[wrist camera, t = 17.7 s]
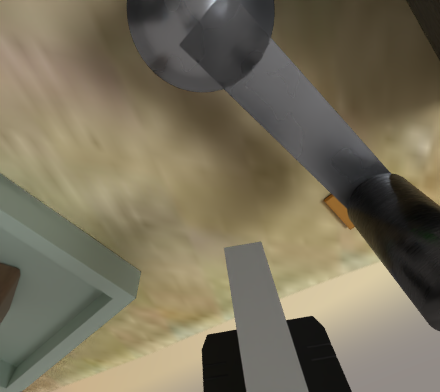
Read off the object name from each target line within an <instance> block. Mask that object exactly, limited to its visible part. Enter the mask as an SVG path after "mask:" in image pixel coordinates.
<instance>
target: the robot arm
mask: <svg viewBox="0 0 440 392" xmlns="http://www.w3.org/2000/svg"><path fill="white" fill-rule="evenodd" d="M224 251H225V257H226V264H227V270H228V277H229V283H230V290H231V296H232V302H233V309H234V315H235V322H236V328H237V330H232V331H226V332H221V333H214V334H209V335H207V337H206V340H205V342H204V345H203V348H202V364H203V381H204V382H203V386H204V392H352V391H351V389H350V387H349V384H348V382H347V380H346V377H345V375H344V373H343V370H342V368H341V366H340V363H339V361H338V359H337V357H336V354H335V352H334V349H333V347H332V346H331V342H330V340H329V338H328V335H327V333H326V331H325V328H324V327H323V326H322V325H321V324H320V323H319V322H318V321H317V320H316V319H315V318H314V317H313V316H309V317H303V318H297V319H292V320H286V319H285V316H284V313H283V309H282V306H281V303H280V300H279V297H278V293H277V290H276V287H275V284H274V281H273V278H272V274H271V271H270V268H269V265H268V262H267V259H266V256H265V252H264V249H263V246H262V243H261V242H256V243H250V244H244V245H238V246H232V247H226V248H224Z"/></svg>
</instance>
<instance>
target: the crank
mask: <svg viewBox="0 0 440 392" xmlns="http://www.w3.org/2000/svg"><path fill="white" fill-rule="evenodd" d="M127 18H128V24H129V29H130V33H131V36H132V39H133V42H134V44H135V46H136V48H137V50H138V52H139V54H140V55H141V57H142V59H143V60H144V61H145V63H146V64H147V65H148V66H149V68H150V69H151V70H152V71H153V72H154V73H155V74H157V75H158V76H159V77H160V78H162V79H163V80H164V81H166V82H168V83H169V84H171V85H173V86H176V87H178V88H180V89H184V90H187V91H193V92H213V91H217V90H222V89H224V90H225V91H226V92H228V93H229V94H230V95H231V96H232V97H233V98H234V99H235V100H236V101H237V102H238V103H239V104H240V105H241V106H242V107H243V108H244V109H245V110H246V111H247V112H248V113H249V114H250V115H251V116H252V117H253V118H254V119H255V120H256V121H257V122H258V123H259V124H260V125H261V126H262V127H263V128H265V129H266V130H267V131H268V132H269V133H270V134H271V135H272V136H273V137H274V138H275V139H276V140H277V141H278V142H279V143H280V144H281V145H282V146H283V147H284V148H285V149H286V150H287V151H288V152H289V153H290V154H291V155H292V156H293V157H294V158H295V159H296V160H297V161H298V162H299V163H300V164H301V165H303V166H304V167H305V168H306V169H307V170H308V171H309V172H310V173H311V174H312V175H313V176H314V177H315V178H316V179H317V180H318V181H319V182H320V183H321V184H322V185H323V186H324V187H325V188H326V189H327V190H328V191H329V192H330V193H331V194H332V195H333V196H334V197H335V198H336V199H337V200H338V201H339V202H341V203H342V204H343V205H344V206H345V207H346V208H347V213H348V217H349V219H350V221H351V222H352V223H353V225H354V226H355V227H356V229H357V230H358V231H359V233H360V234H361V235H362V237H363V238H364V239H365V241H366V242H367V243H368V244H369V246H370V247H371V248H372V250H373V251H374V252H375V254H376V255H377V256H378V258H379V259H380V260H381V262H382V263H383V264H384V266H385V267H386V268H387V269H388V271H389V272H390V273H391V275H392V276H393V277H394V279H395V280H396V281H397V283H398V284H399V285H400V287H401V288H402V289H403V291H404V292H405V293H406V295H407V296H408V297H409V299H410V300H411V301H412V302H413V304H414V305H415V306H416V308H417V309H418V310H419V312H420V313H421V314H422V316H423V317H424V318H425V320H426V321H427V322H428V323H429V325H430V326H431V327H433V328H434V329H436V330H438V331H440V206H439V205H438V204H436V203H435V202H434V201H433V200H431V199H430V198H429V197H427V196H426V195H425V194H424V193H422V192H421V191H420V190H419V189H417V188H416V187H415V186H413V185H412V184H411V183H410V182H408V181H407V180H406V179H404V178H403V177H401V176H399V175H396V174H391V173H390V172H389V171H388V170H387V169H386V167H385V166H384V165H383V164H382V163H381V162H380V161H379V160H378V158H377V157H376V156H375V155H374V154H373V153H372V152H371V150H370V149H369V148H368V147H367V146H366V145H365V144H364V143H363V141H362V140H361V139H360V138H359V137H358V136H357V135H356V134H355V132H354V131H353V130H352V129H351V128H350V127H349V126H348V124H347V123H346V122H345V121H344V120H343V119H342V118H341V117H340V115H339V114H338V113H337V112H336V111H335V110H334V109H333V108H332V106H331V105H330V104H329V103H328V102H327V101H326V100H325V98H324V97H323V96H322V95H321V94H320V93H319V92H318V91H317V89H316V88H315V87H314V86H313V85H312V84H311V83H310V82H309V80H308V79H307V78H306V77H305V76H304V75H303V74H302V72H301V71H300V70H299V69H298V68H297V67H296V66H295V65H294V63H293V62H292V61H291V60H290V59H289V58H288V57H287V56H286V54H285V53H284V52H283V51H282V50H281V49H280V48H279V46H278V45H277V44H276V43H275V42H274V41H273V40H272V39H271V34H272V30H273V25H274V0H127Z"/></svg>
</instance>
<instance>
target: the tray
mask: <svg viewBox="0 0 440 392" xmlns="http://www.w3.org/2000/svg"><path fill="white" fill-rule="evenodd" d="M0 263H3V264H6V265H10V266H13V267H16V268H18V269H20V279H19V282H18V285H17V288H16V291H15V294H14V297H13V300H12V303H11V306H10V309H9V311H8V313H7V314H6V316H5V318H4V319H3V321H2V322H1V324H0V392H22V391H23V390H24V389H25V388H27V387H28V386H29V385H30V384H32V383H33V382H34V381H35V380H36V379H38V378H39V377H40V376H41V375H43V374H44V373H45V372H46V371H47V370H49V369H50V368H51V367H52V366H54V365H55V364H56V363H57V362H58V361H60V360H61V359H62V358H63V357H65V356H66V355H67V354H68V353H69V352H71V351H72V350H73V349H74V348H76V347H77V346H78V345H79V344H80V343H82V342H83V341H84V340H85V339H87V338H88V337H89V336H90V335H91V334H93V333H94V332H95V331H96V330H98V329H99V328H100V327H101V326H102V325H104V324H105V323H106V322H107V321H109V320H110V319H111V318H112V317H113V316H115V315H116V314H117V313H118V312H120V311H121V310H122V309H123V308H124V307H126V306H127V305H128V304H129V303H131V302H132V301H133V300H134V299H135V298H136V295H137V290H138V285H139V280H140V275H141V271H139V270H138V269H136V268H135V267H134V266H132V265H131V264H129V263H128V262H126V261H125V260H124V259H122V258H121V257H119V256H118V255H116V254H115V253H114V252H112V251H111V250H109V249H108V248H106V247H105V246H104V245H102V244H101V243H99V242H98V241H96V240H95V239H93V238H92V237H91V236H89V235H88V234H86V233H85V232H83V231H82V230H81V229H79V228H78V227H76V226H75V225H73V224H72V223H71V222H69V221H68V220H66V219H65V218H63V217H62V216H61V215H59V214H58V213H56V212H55V211H53V210H52V209H51V208H49V207H48V206H46V205H45V204H43V203H42V202H41V201H39V200H38V199H36V198H35V197H33V196H32V195H31V194H29V193H28V192H26V191H25V190H23V189H22V188H20V187H19V186H18V185H16V184H15V183H13V182H12V181H10V180H9V179H8V178H6V177H5V176H3V175H2V174H0Z"/></svg>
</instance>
